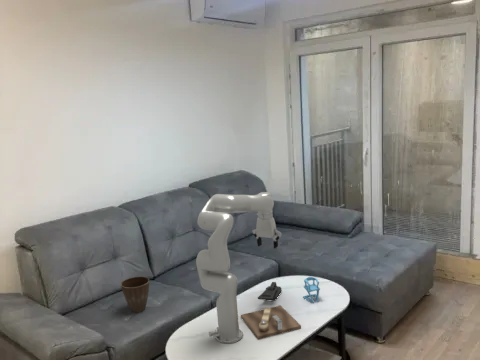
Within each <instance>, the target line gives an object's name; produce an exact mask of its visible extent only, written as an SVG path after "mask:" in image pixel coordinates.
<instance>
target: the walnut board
mask: <svg viewBox="0 0 480 360" xmlns="http://www.w3.org/2000/svg"><path fill="white" fill-rule="evenodd" d="M270 308H271V316H270V320H269V324H268V325H269V329H268V330H267V331H261V330H260V329H259V323H260V322H261V320H262V317H263V313H264V310H265V308H263V309H260V310H256V311H250V312H247V313H241V314H240V318H241V320H242V319H243V320H242V321H243V322H244V324H245V325H246V326H247V328H248V329H249V330H250V331H251V332H252V334H253V335H254V337H255V338H256V339H257V340H262V339H266V338H270V337H274V336H277V335H281V334H282V335H283V334H285V333H290V332H293V331H296V330H301V329H302V325H301V324H300V323H299V322H298V321H297V320H296V319H295V318H294V316H292V314H290V313H289V312H288V311H287V310H286V309H285V307H283V306H282V305H281V304H280V305H277V306H272V307H270ZM275 315H277V316H278V318H279V319H280V320H281V321H282V330H279V331H278V330H277V324H276V321H275V320H274V319H273V317H272V316H275Z"/></svg>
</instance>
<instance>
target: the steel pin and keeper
mask: <svg viewBox="0 0 480 360" xmlns="http://www.w3.org/2000/svg"><path fill="white" fill-rule="evenodd" d="M272 317H273V319H274V320H275V321H276V324H277V330H278V331H279V330H282V321H281V320H280V319H279V318H278V316H277V315H275V316H272ZM261 324H266V321H265V320H263V321H261Z"/></svg>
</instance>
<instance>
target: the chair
mask: <svg viewBox="0 0 480 360" xmlns="http://www.w3.org/2000/svg"><path fill="white" fill-rule="evenodd" d="M310 281H312V284H311V283H310ZM315 281H316V283H317V284H315ZM303 282H304V286H303V288H304V289H305V290H306V292H307V294H308V295H303V296H302V299H303V298H304V299H303V300H305V299H306V301H307V302H310V303H311V304H315V302H316V303H319V295H320V291H321V288H320V287H319V284H320V282H319V279H318V278H317V277H313V276H309V277H306V278H304V279H303ZM312 292H316V293H312ZM311 293H312V294H311ZM313 297H315V301H314V299H313Z"/></svg>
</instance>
